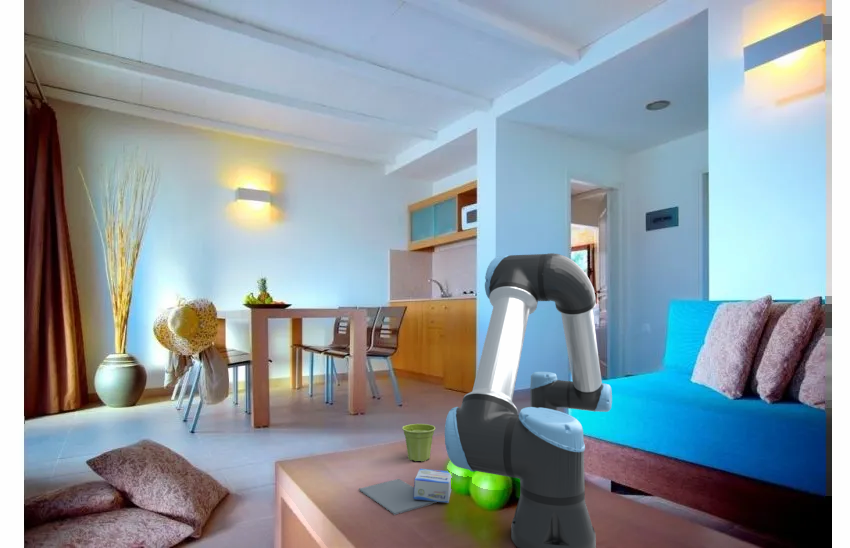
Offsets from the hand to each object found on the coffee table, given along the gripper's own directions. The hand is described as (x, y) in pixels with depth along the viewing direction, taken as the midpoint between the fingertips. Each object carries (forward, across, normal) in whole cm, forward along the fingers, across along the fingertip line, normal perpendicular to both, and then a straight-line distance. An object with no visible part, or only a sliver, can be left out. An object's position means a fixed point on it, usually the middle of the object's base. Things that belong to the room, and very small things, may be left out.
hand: (453, 447), depth 120 cm
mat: (+16, 0, -8) cm, 18 cm away
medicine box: (+7, -2, -6) cm, 9 cm away
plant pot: (-3, +19, -8) cm, 21 cm away
